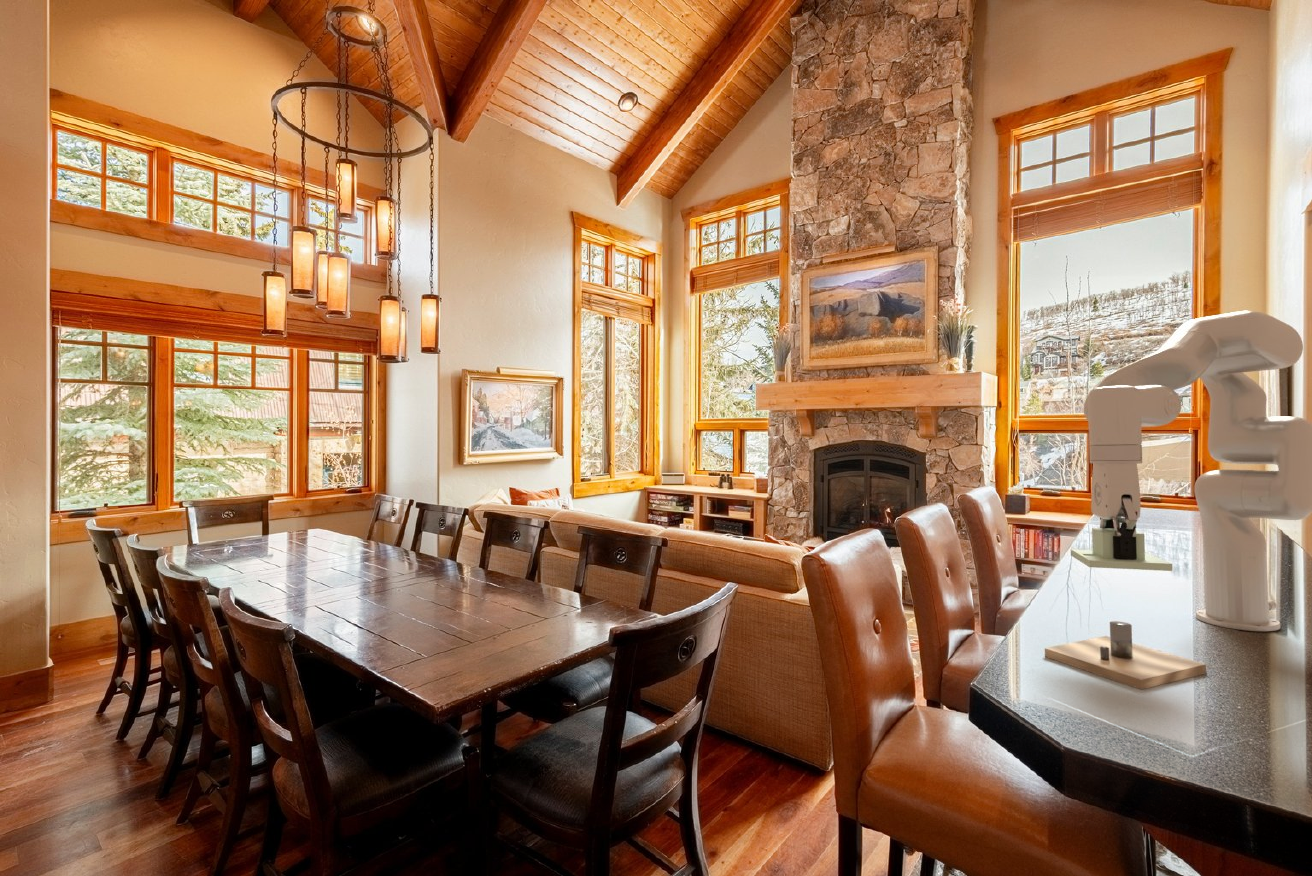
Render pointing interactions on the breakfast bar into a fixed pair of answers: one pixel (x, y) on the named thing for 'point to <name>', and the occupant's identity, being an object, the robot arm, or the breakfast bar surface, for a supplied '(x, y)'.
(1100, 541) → the flange
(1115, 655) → the pins
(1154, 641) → the breakfast bar surface
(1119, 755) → the breakfast bar surface
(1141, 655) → the base
